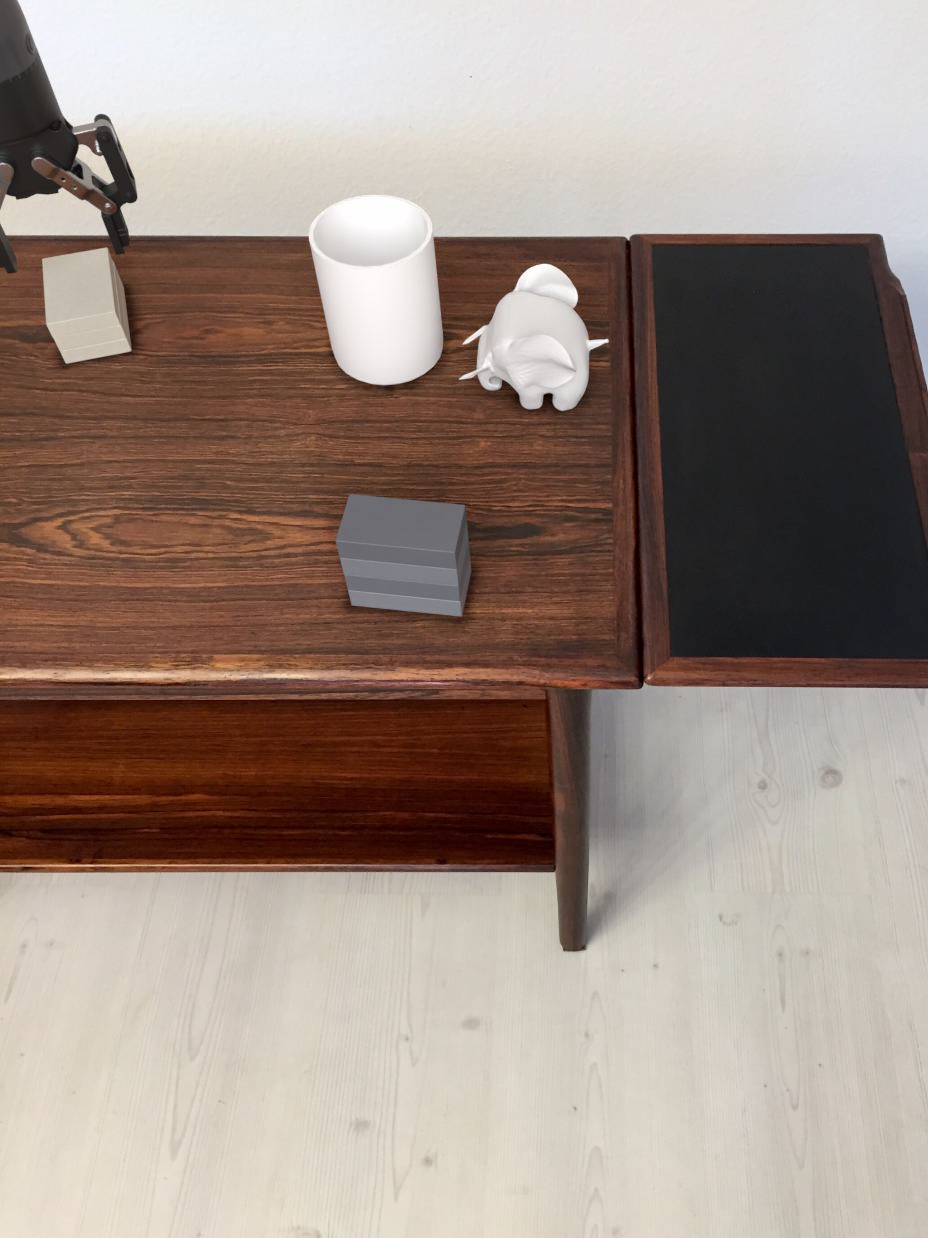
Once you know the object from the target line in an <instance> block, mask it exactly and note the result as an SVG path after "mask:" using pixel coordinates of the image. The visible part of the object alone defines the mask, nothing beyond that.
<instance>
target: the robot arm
mask: <svg viewBox="0 0 928 1238" xmlns="http://www.w3.org/2000/svg"><path fill="white" fill-rule="evenodd" d="M27 21H28V20H27V18H26V16H25V14H24V11H23V9H22V7H21V5H20V2H19V0H0V210H1V209H2V206H3V204H4V200H5V199H6V195H7V196H9V197H15V199H16V201H17V200H25V199H28V198H31V197H33V196H35V195H47V196H49V195H55V194H59V191H60V190H61V189H64V190H65V191H66V192H68V193H70V194H71V195H73V196H74V197H75V198H77V199H78V200H80V201H86V202H88V203H89V204H90V205H92V206H93V207H95V208H96V209H97V210H99V211H100V215H101V219H102V222H103V224H104V227H105V230H106V233H107V235H108V237H109V241H110V243H111V245H112V248H113V250H114V253H115V255H116V256H118V255H124V254H126V248H125V247H129V246H130V242H131V241H130V231H129V228H128V225H127V222H126V220H125V217H124V213H123V211H122V206H123V205H125V204H133V203H136V202H137V200H138V191H137V183H136V178H135V176H134V173H133V170H132V168H131V166H130V163H129V161H128V159H127V155H126V153H125V151H124V149H123V146H122V144H121V141H120V140H119V139H120V138H119V137H118V134H117V132H116V130H115V127H114V124H113V122H112V120H111V118H110V117H109V116H108V115H107V114H104V113H98V114H96V115H95V116H94V118H93V122H90V123H86V124H81V125H77V126H74V125H72V124H71V122H69V121H68V120H67V118H65V116H64V113H63V112H62V109H61V108H60V105H59V102H58V99H57V97H56V94H55V91H54V89H53V87H52V83H51V81H50V78H49V75H48V73H47V71H46V68H45V65H44V63H43V61H42V58H41V56H40V53H39V50H38V47H37V45H36V42H35V39H34V37H33V34H32V31H31V29H30V26H29V24H28V22H27ZM80 145H82V146H86V147H87V148H88V149H90V150H91V152H92V153H93V154H94V155H95V156H98V157H102V156H103V158H104V161H105V163H106V164H107V168H108V169H109V170H108V171H109V172H110V174H111V177H112V179H113V181H111V182H110V183H109V182H107V181H106V180H104V179H103V178H102V177H100V176H99V175H98V174H96V173H94V171H92V168H91V167H90V166H89V165H88V164H87V163H86V162H84V161H83V160H81V159H79V157H77V155H78V153H79V152H78V151H79V148H80ZM3 268H4V270H5V272H6V274H8V275H10V274H16V273H18V259H17V256H16V253H15V251H14V249H13V248H12V244H11V243H10V240H9V238H8V236H7V235H6V232H5V230H4V228H3V227H2V224H1V223H0V269H3Z"/></svg>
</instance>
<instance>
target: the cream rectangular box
mask: <svg viewBox="0 0 928 1238" xmlns="http://www.w3.org/2000/svg"><path fill="white" fill-rule="evenodd" d="M113 267H114V275H115V283H116V292H117V300H118V308H119V316H120V325H119V326H113V327H108V328H103V329H97V330H92V331H87V332H81V333H76V334H70V335H65V336H60V337H54V338H53V341H54V343H55V345H56V347H57V349H58V351H59V352H60V355H61V357H62V359H63V361H64V363H65V365H66V364H72V363H78V362H83V361H88V360H89V361H90V360H93V359H98V358H99V359H100V358H105V357H109V356H115V355H120V354H125V353H131V352H132V349H133V348H132V341H131V334H130V325H129V318H128V310H127V302H126V296H125V295H126V294H125V286H124V284H123V281H122V279H121V277H120V274H119V271H118V269H117V266H116V264H115V261H114V260H113Z"/></svg>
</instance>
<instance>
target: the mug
mask: <svg viewBox="0 0 928 1238" xmlns="http://www.w3.org/2000/svg"><path fill="white" fill-rule="evenodd" d="M433 229H434V228H433V223H432V219H431V218H430V216H429V214H428V213H427V212H426V210H424V209H423V208H422V207H420V205H418V204H416V203H415V202H412V201H410V200H409V199H407V198H403V197H399V196H395V195H389V194H377V193H376V194H375V193H374V194H362V195H356V196H352V197H349V198H348V197H347V198H345V199H342V200H340V201H338V202H335V203H332V204H331V205H329V206H327V207H326V208H325V209H324V210H321V211H320V213H319V214H318V215H317V216H316V217H315V218H314V219H313V220H312V223H311V225H310V227H309V229H308V243H309V247H310V250H311V256H312V260H313V265H314V270H315V276H316V280H317V284H318V289H319V294H320V299H321V304H322V309H323V314H324V318H325V322H326V328H327V332H328V337H329V342H330V346H331V350H332V353H333V356H334V358H335V360H336V363H337V365H338V367H339V368H340V369H341V370H342V371H343V372H344V373H345V374H346V375H349V377H351V378H353V379H355V380H357V381H360V382H364V383H366V384H371V385H376V386H394V385H395V386H396V385H402V384H404V383H409V382H411V381H415V380H416V379H418V378H419V377H422V376H423V375H425V374H426V373H427V372H429V371H430V370H432V368H433V367H435V366H436V365H437V363H438V361H439V360H440V359H441V355H442V353H443V349H444V333H443V322H442V321H443V319H442V312H441V311H442V310H441V301H440V291H439V281H438V270H437V261H436V249H435V241H434V240H435V239H434V231H433Z"/></svg>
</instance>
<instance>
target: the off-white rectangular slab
mask: <svg viewBox="0 0 928 1238" xmlns="http://www.w3.org/2000/svg"><path fill="white" fill-rule="evenodd" d="M113 261H114V260H113V257H112V255H111V253H110V250H109V248H108V247H101V248H97V249H89V250H85V251H84V250H83V251H78V252H73V253H66V254H60V255H55V256H50V257H49V256H48V257H44V258H42V259H41V263H42V264H41V265H42V279H43V296H44V310H45V311H44V313H45V326H46V327H47V329H48V332H49V333H50V335H51V337H52V339H54V337H60V336H65V335H70V334H76V333H81V332H87V331H92V330H97V329H103V328H108V327H113V326H119V325H120V316H119V308H118V300H117V292H116V283H115V275H114V267H113Z"/></svg>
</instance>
